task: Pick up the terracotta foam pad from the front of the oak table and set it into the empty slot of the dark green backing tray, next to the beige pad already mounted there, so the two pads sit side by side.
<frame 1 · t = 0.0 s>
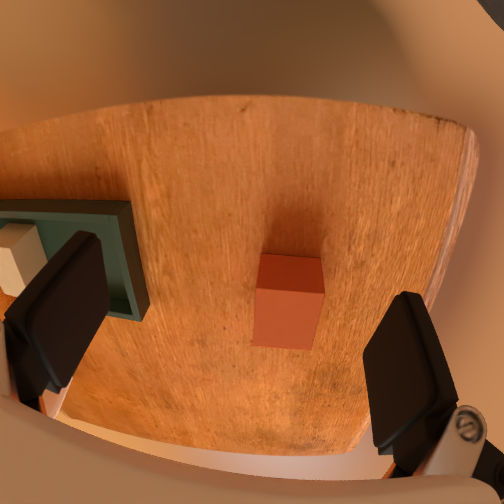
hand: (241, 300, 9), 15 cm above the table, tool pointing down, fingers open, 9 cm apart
pad a: (29, 249, 28), point 1 cm above the table, touching backing tray
backing tray: (60, 249, 29), on the table
cup: (56, 360, 42), on the table
pad b: (287, 285, 28), on the table
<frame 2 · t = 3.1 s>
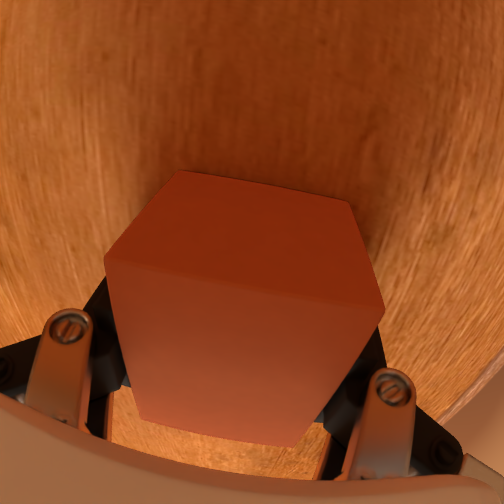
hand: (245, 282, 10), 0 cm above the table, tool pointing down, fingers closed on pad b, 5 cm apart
pad b: (247, 273, 11), on the table, touching gripper
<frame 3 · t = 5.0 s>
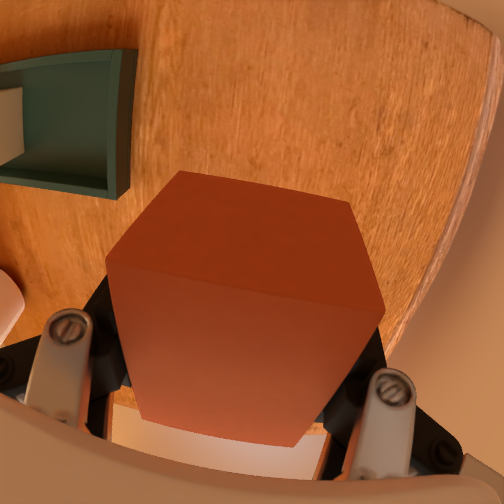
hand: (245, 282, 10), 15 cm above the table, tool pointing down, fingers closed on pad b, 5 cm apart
pad a: (7, 120, 21), point 1 cm above the table, touching backing tray
backing tray: (41, 118, 22), on the table
cup: (10, 283, 34), on the table
pad b: (247, 274, 11), point 14 cm above the table, touching gripper
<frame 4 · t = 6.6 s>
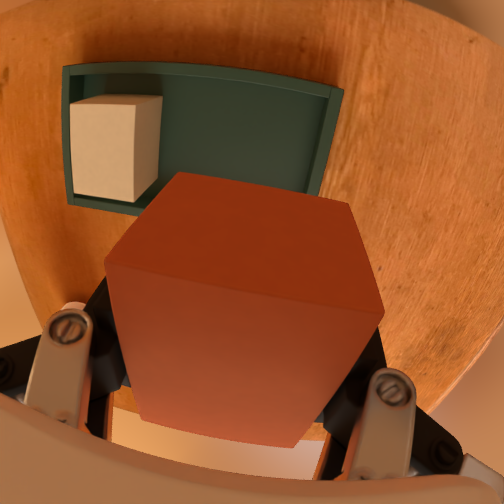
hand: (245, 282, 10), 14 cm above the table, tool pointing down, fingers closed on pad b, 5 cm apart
pad a: (130, 135, 21), point 1 cm above the table, touching backing tray
backing tray: (187, 139, 22), on the table
pad b: (247, 275, 11), point 14 cm above the table, touching gripper
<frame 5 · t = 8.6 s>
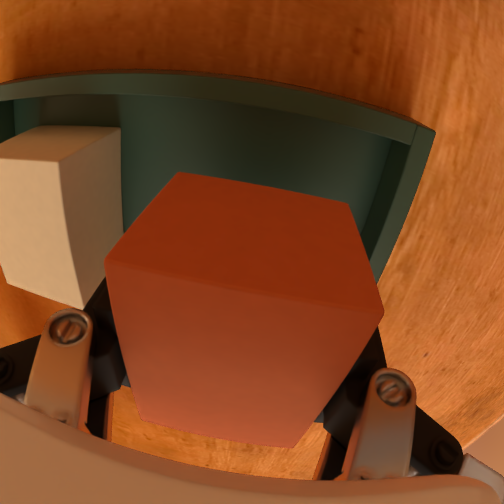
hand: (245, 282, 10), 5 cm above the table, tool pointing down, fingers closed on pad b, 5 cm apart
pad a: (79, 188, 14), point 1 cm above the table, touching backing tray
backing tray: (165, 195, 14), on the table
pad b: (246, 275, 11), point 4 cm above the table, touching gripper
when the fingers open (1 cm above the table, at t = 10.1 s): pad b stays where it is, resting on backing tray.
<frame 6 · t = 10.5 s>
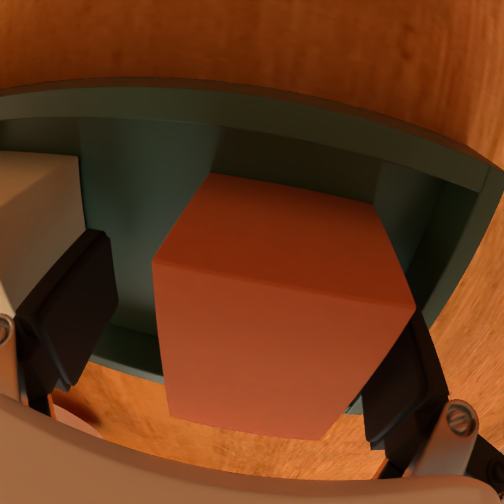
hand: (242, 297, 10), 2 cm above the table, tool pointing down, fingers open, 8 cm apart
pad a: (42, 225, 11), point 1 cm above the table, touching backing tray, gripper
backing tray: (156, 238, 11), on the table
cup: (72, 410, 25), on the table
pad b: (273, 273, 11), point 1 cm above the table, touching backing tray
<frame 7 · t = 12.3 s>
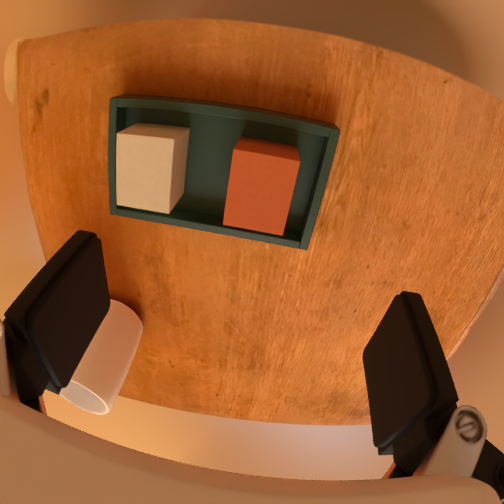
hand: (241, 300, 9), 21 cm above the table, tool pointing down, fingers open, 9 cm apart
pad a: (161, 157, 28), point 1 cm above the table, touching backing tray
backing tray: (215, 163, 28), on the table
cup: (120, 313, 41), on the table
pad b: (262, 175, 28), point 1 cm above the table, touching backing tray
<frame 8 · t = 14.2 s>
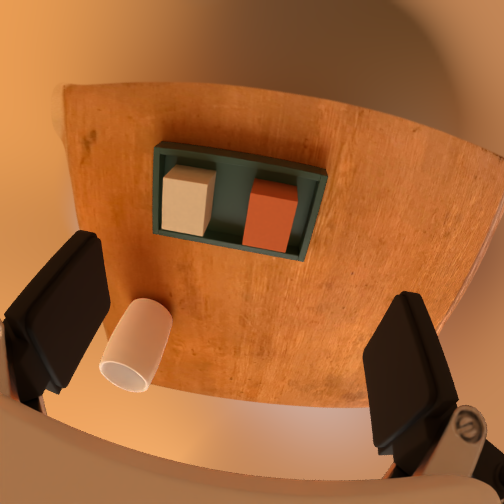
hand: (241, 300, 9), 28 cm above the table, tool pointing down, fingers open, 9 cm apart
pad a: (193, 191, 38), point 1 cm above the table, touching backing tray
backing tray: (235, 197, 38), on the table
cup: (153, 309, 51), on the table
pad b: (271, 206, 38), point 1 cm above the table, touching backing tray
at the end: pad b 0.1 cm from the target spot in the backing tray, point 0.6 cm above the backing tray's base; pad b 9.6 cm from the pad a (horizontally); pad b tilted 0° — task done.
